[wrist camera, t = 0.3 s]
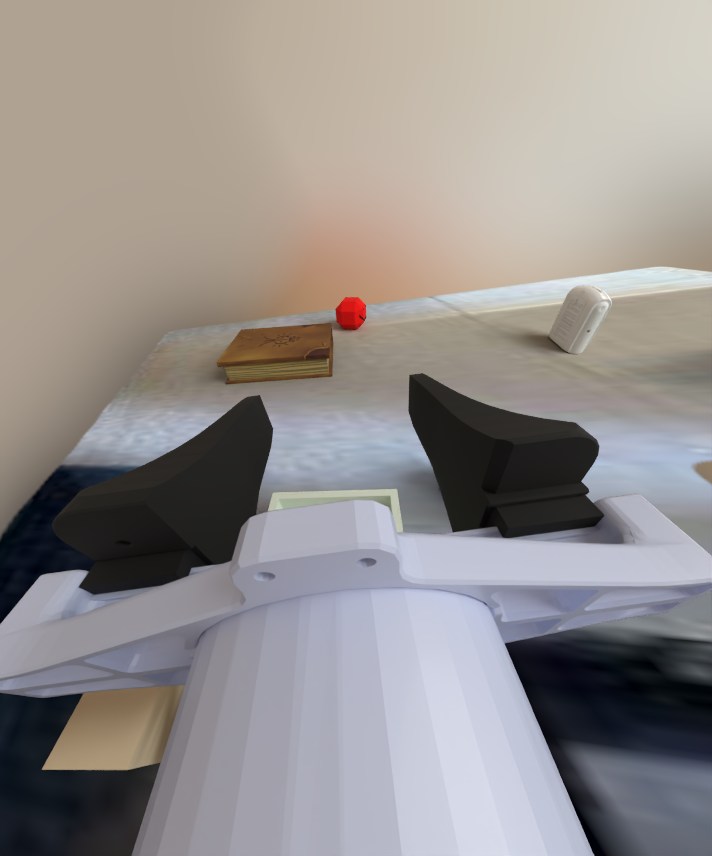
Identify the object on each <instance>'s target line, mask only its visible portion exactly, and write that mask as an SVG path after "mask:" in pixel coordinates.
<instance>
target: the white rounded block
mask: <svg viewBox="0 0 712 856" xmlns="http://www.w3.org/2000/svg"><path fill="white" fill-rule="evenodd" d="M611 304H612V302H611V299H610V297H609V296H608V295H607V294H606V293H605V292H604V291H603V290H602V289H600V288H598V287H595V286H577V287H575V288H573V289H572V290H571V291H570V292H569V293H568V295H567V296H566V299H565V301H564V303H563V305H562V307H561V309H560V312H559V314H558V316H557V318H556V320H555V322H554V324H553V326H552V329H551V331H550V333H549V337H550V338H551V339H552V340H553V341H554V342H555V343H556V344H558V345H559V346H560V347H561V348H562V349H563V350H565V351H566V352H569V353H571V354H580V353H582V352H584V351H585V350H586V348H587V347H588V345H589V344H590V342H591V340H592V339H593V337H594V335H595V333H596V332H597V330H598V328H599V327H600V325H601V323H602V322H603V320H604V318H605V316H606V315H607V313H608V311H609V310H610V308H611Z"/></svg>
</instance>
